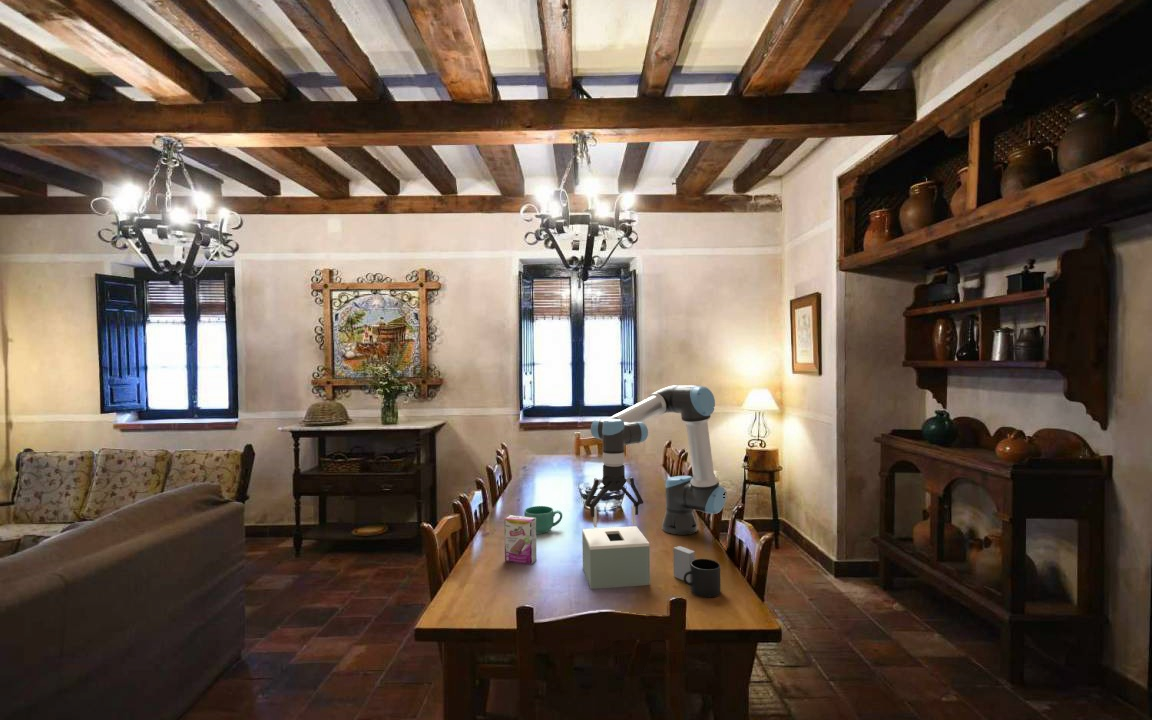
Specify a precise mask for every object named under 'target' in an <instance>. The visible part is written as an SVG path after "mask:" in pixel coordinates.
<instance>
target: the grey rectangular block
mask: <svg viewBox="0 0 1152 720" xmlns="http://www.w3.org/2000/svg"><path fill="white" fill-rule="evenodd" d="M672 551H673V577H674V578H677V579H678V580H681V581H683V582H684V575H685V573H686V572H688V571H690V563H691V561H693V560H696V551H695V550H692V549H689V548H687V547H684V546H681V545H678V546H675V547H673V550H672ZM686 581H687V582H689V583H690V582H691V574H688V575H687V577H686Z"/></svg>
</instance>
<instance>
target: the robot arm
mask: <svg viewBox="0 0 1152 720" xmlns="http://www.w3.org/2000/svg"><path fill="white" fill-rule="evenodd" d="M715 406H716V400H715V396H714V394H713V392H712V390H710V389H709V388H708V387H707V386H701V385H697V384H696V385H688V384H687V385H685V384H684V385H680V384H674V385H669V386H666V387H663V388H660V389H658V390H657V391H653V392H652V393H650V394H649V395H648V396H647V398H645V399H643V400H642V401H640V402H637V403H635V404H634V405H632V406H629V407H627V408H626V409H623V410H622V411H620V412H618V413H615V414H613V415H612V416H610V417H607V418H606V419H605V418H604V419H603V418H598V419H595V420H593V421H592V422H591V424H590V433H591V436H592V437H594V438H595V439H597V440H601V441H602V464H603V465H602V479H601V478H597V477H595V478H594V479H593V485H592V487H591V489H590V491H589V493H588V495H587V498H586V499H585V502H584V505H585V507H588V508H589V513H590V514H589V515H590V517H591V518H592V519H593V521H592V522H593V523H592V524H593V527H594V528H597V527H598V526H597V525H598V524H597V523H598V521H597V519H598V515H597V514H598V512H597V505H598V504H599V502H600V501H601V500H602V498H603V497H604V496H605V495H606V494H607V493H608V492H610V493H612V492H620V491H622V492H623V494H624V495H626V497H628V499H629V500H630V501H631V510H630V513H631V524H632V526H636V516H638V515H639V506H640V505H643V504H644V500H643V498H642V496H641V494H640V493H639V491H638V489H637V486H636V485H635V478H633V476H629V477H626V475H625V471H626V470H625V467H626V466H625V465H624V464H625V446H628V445H635V444H640V443H643V442H645V441H646V440H647V439H648V436H649V429H648V427H647V424H645V423H644V422H645V421H647V420H649V419H652V417H655V416H662V415H663V414H667V413H675V414H680V416H681V421H682V422H683V423H685V424H686V432H687V441H688V448H689V455H690V456H689V457H690V463H691V470H692V476H691V475H677V476H676V475H675V476H670V477H668V478H667V479H666V480H665V513H664V517H663V519H662V523H661V529H663V530H662V531H663V532H665V533H667V534H670V533H671V535H676V534H677V536H678V535H679V536H685V535H686V536H687V534H689V535H693V534H696V533H697V532H698V524H697V521H696V520H697V519H696V518H695V515H694V511H699V512H703V513H705V514H712V515H715V514H716V515H717V514H718V513H720V512H721V511H722V510H723V508H724V506H725V504H726V501H727V490H726V488H725V487H723V486H722V485H720V481H719V477H717V476H715V472H714V464H713V456H712V455H713V454H712V447H711V439H710V432H709V425H708V421H709V420H710V419H711V417H712V416H711V415H712V414H713V413H714V411H715ZM626 483H628V485H629V486H630V488H631V489H632V492H633V493H634V495H635V497H636V499H637V500H636V499H635V498H634V497H633V496H632V495H631V494H630V493H629V491H628V490H627V488H625V484H626ZM601 484H603V486H602V488H601V489H600V491H599V492H598V494H597V495H596V496H595V494H596V492H597V490H598V488H599V486H600V485H601ZM724 492H726V493H725V495H723V494H724ZM723 497H725V498H723ZM593 498H594V499H593ZM632 503H633V504H632ZM695 532H696V533H695Z"/></svg>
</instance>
